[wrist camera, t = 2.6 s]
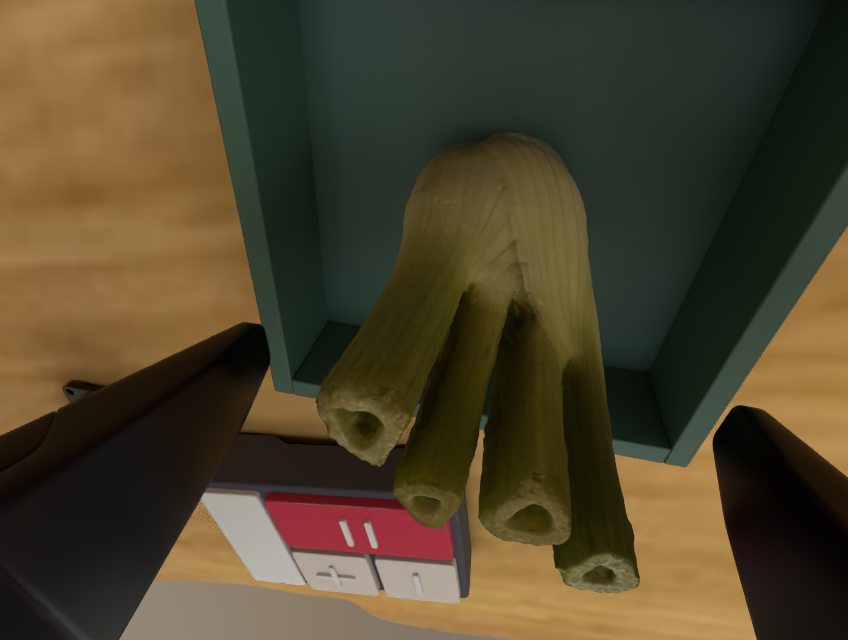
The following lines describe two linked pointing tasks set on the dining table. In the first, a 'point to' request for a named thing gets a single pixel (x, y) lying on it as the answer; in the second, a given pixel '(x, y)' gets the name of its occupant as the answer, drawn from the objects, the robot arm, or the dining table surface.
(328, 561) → the calculator
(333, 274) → the tote
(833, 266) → the dining table surface
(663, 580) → the dining table surface
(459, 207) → the fennel bulb
